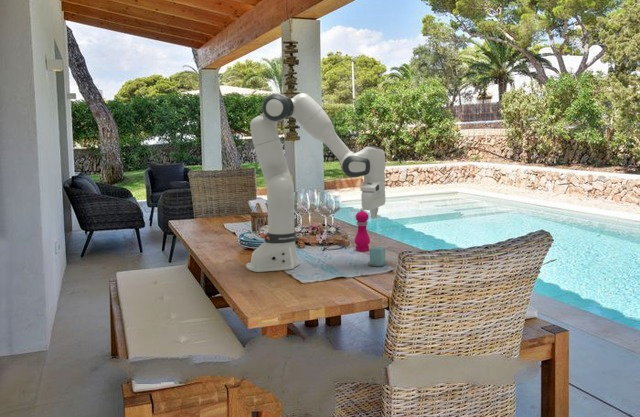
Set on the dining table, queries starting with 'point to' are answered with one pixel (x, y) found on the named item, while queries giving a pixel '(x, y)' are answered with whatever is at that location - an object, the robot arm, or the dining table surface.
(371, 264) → the grey round stand
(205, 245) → the dining table surface
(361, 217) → the pepper mill
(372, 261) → the teal rectangular block
